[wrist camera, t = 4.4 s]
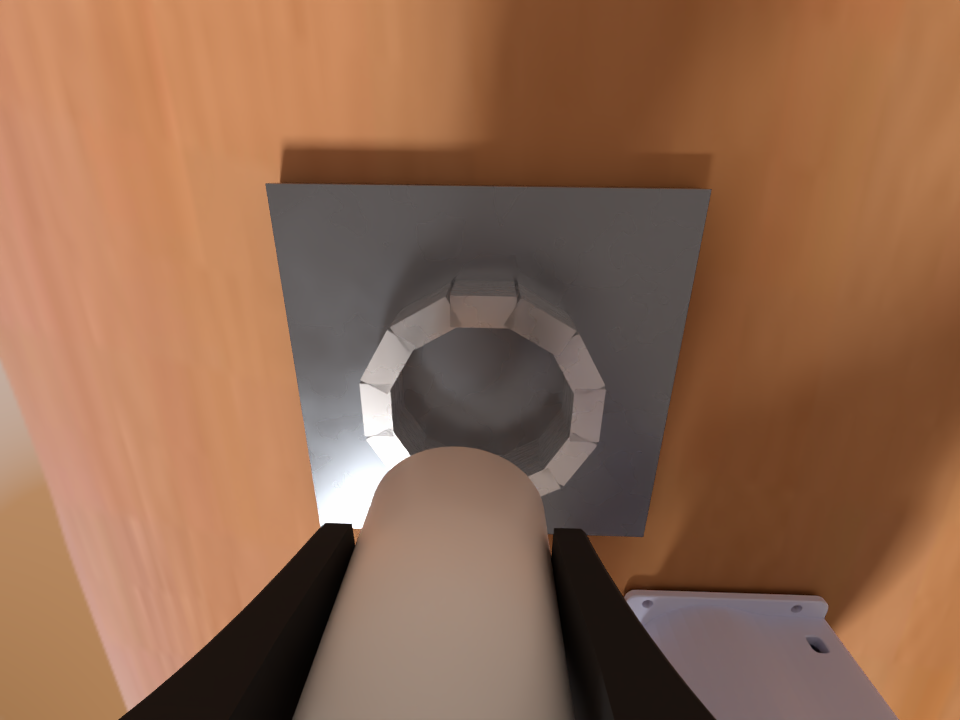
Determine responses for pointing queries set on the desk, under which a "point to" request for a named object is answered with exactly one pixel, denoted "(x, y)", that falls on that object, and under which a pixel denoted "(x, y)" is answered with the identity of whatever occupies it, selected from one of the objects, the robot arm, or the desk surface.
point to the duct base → (489, 334)
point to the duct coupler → (445, 602)
